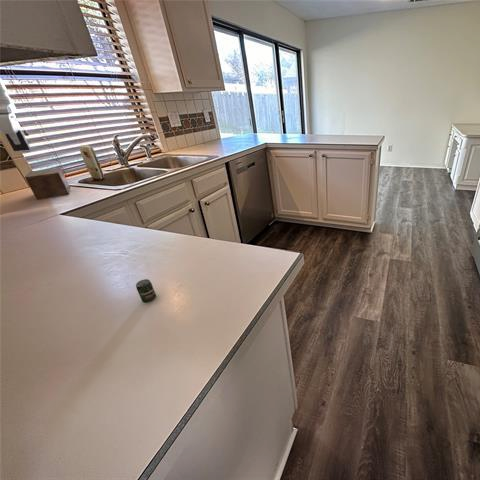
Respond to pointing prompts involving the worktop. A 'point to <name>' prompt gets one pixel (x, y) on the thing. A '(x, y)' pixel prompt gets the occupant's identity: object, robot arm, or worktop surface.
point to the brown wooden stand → (48, 183)
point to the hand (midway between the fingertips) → (19, 143)
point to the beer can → (145, 290)
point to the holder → (21, 137)
